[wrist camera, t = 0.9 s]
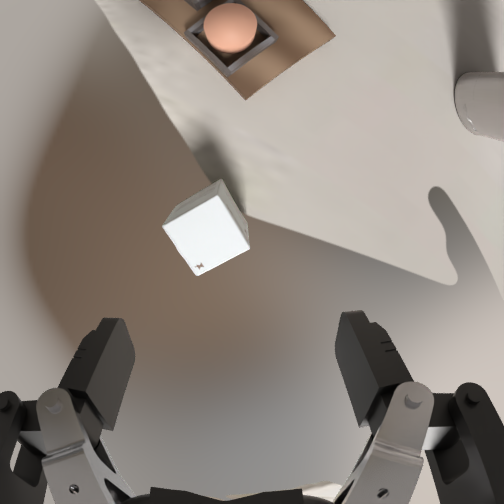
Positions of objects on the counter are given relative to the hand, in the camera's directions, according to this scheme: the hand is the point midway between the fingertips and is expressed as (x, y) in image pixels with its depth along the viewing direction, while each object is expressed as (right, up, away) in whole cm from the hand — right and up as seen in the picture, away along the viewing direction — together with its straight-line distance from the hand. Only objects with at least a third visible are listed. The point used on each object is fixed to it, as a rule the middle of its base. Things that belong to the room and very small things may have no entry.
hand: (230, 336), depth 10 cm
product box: (-4, +7, +23) cm, 24 cm away
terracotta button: (-1, +23, +11) cm, 25 cm away
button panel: (-4, +32, +11) cm, 34 cm away
